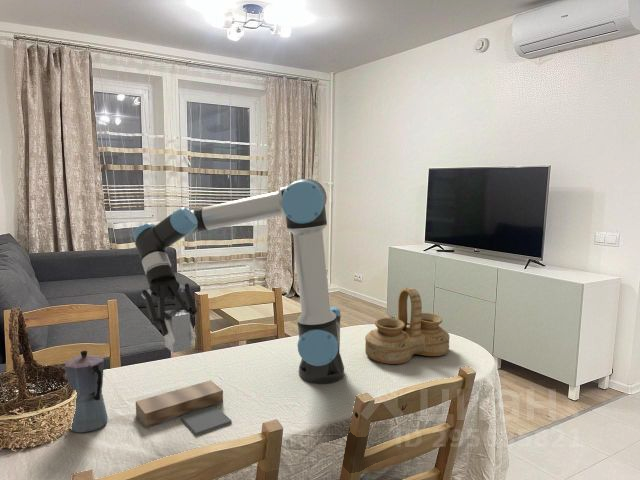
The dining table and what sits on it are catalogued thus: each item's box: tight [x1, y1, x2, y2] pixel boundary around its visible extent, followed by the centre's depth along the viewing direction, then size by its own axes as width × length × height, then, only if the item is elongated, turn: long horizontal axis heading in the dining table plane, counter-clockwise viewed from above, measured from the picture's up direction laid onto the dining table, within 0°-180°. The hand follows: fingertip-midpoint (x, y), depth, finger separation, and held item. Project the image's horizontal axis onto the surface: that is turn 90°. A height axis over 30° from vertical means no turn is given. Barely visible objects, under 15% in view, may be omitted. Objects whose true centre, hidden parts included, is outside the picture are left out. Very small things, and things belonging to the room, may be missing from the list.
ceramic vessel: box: [364, 287, 451, 365], centre depth 173 cm, size 34×18×25 cm, turn 116°
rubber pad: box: [180, 405, 233, 436], centre depth 125 cm, size 10×10×1 cm
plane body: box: [135, 379, 224, 429], centre depth 131 cm, size 22×8×4 cm, turn 128°
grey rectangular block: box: [164, 308, 192, 354], centre depth 128 cm, size 6×5×10 cm
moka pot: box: [64, 350, 109, 433], centre depth 121 cm, size 10×15×20 cm, turn 54°
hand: (183, 341), depth 125 cm, fingers closed on grey rectangular block, 5 cm apart
